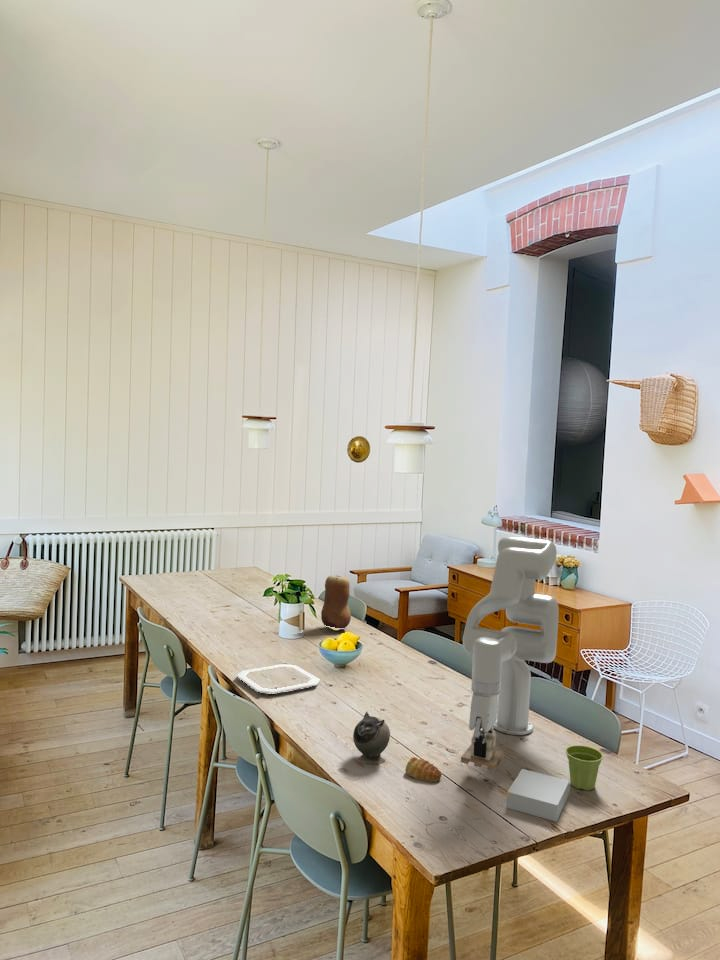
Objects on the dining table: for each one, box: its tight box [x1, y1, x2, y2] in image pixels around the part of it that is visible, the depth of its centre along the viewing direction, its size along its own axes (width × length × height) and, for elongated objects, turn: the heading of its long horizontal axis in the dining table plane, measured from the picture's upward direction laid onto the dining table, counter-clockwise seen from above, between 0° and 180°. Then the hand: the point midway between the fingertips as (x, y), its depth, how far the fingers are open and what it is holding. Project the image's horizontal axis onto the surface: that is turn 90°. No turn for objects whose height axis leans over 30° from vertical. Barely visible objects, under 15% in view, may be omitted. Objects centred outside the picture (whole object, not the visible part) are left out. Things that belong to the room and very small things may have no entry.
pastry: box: [404, 756, 442, 783], centre depth 188 cm, size 9×7×4 cm
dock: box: [506, 768, 570, 823], centre depth 176 cm, size 14×12×4 cm
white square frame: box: [236, 663, 321, 694], centre depth 253 cm, size 25×25×2 cm
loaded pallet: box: [460, 732, 505, 772], centre depth 187 cm, size 9×9×6 cm
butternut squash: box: [320, 574, 352, 629], centre depth 324 cm, size 14×13×25 cm
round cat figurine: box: [352, 711, 391, 765], centre depth 196 cm, size 10×12×10 cm
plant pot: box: [564, 744, 604, 791], centre depth 186 cm, size 9×9×9 cm
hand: (483, 751), depth 188 cm, fingers closed on loaded pallet, 5 cm apart
